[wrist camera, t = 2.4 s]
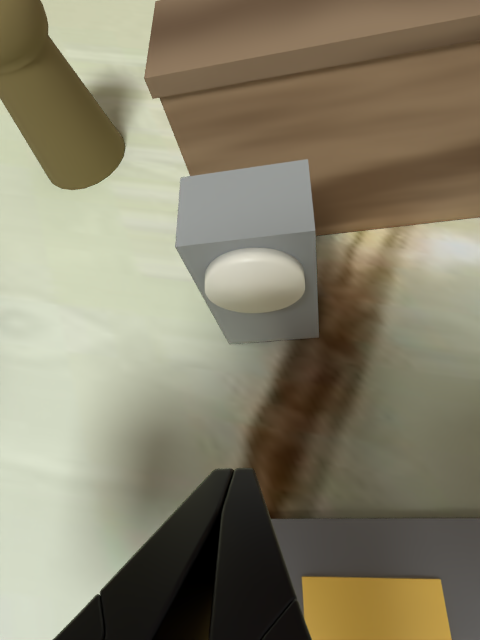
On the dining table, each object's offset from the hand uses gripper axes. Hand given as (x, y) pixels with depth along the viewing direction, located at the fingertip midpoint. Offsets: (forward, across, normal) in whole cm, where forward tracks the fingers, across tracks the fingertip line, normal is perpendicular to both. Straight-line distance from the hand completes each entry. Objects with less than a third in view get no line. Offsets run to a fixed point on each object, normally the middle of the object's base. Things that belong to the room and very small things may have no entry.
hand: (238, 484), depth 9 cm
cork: (+23, +13, -9) cm, 28 cm away
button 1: (+13, 0, +1) cm, 13 cm away
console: (+18, -6, -4) cm, 20 cm away
